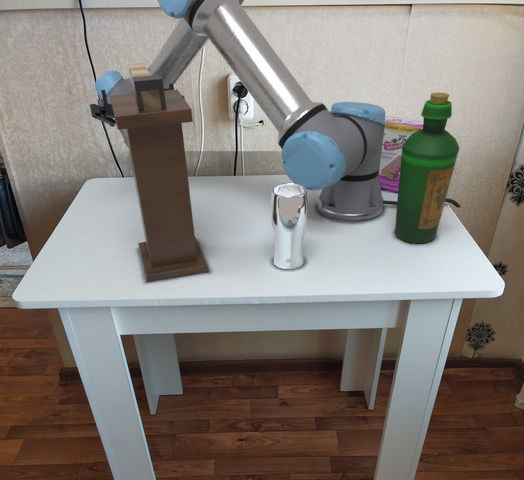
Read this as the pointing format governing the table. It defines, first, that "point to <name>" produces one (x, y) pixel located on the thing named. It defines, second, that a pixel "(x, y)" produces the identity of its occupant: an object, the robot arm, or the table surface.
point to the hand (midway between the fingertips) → (138, 93)
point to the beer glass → (289, 223)
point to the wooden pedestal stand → (161, 185)
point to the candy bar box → (394, 150)
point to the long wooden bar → (147, 88)
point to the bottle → (426, 173)
